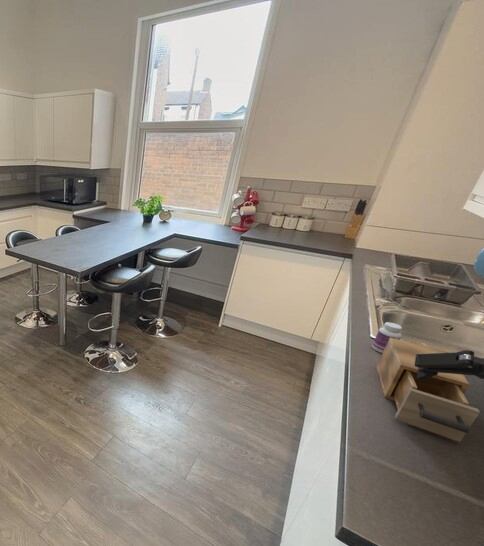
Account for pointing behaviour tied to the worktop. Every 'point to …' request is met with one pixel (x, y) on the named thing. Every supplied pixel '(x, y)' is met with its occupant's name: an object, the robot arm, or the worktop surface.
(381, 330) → the pill bottle
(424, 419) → the drawer
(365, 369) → the worktop surface
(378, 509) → the worktop surface
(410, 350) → the cabinet
